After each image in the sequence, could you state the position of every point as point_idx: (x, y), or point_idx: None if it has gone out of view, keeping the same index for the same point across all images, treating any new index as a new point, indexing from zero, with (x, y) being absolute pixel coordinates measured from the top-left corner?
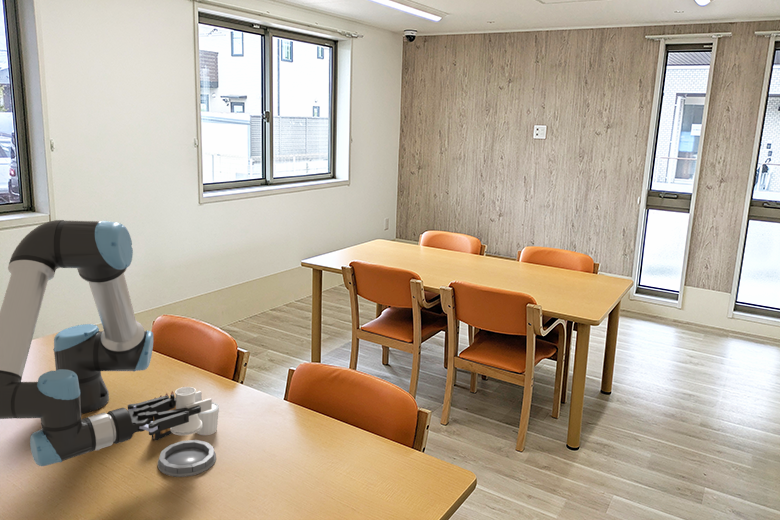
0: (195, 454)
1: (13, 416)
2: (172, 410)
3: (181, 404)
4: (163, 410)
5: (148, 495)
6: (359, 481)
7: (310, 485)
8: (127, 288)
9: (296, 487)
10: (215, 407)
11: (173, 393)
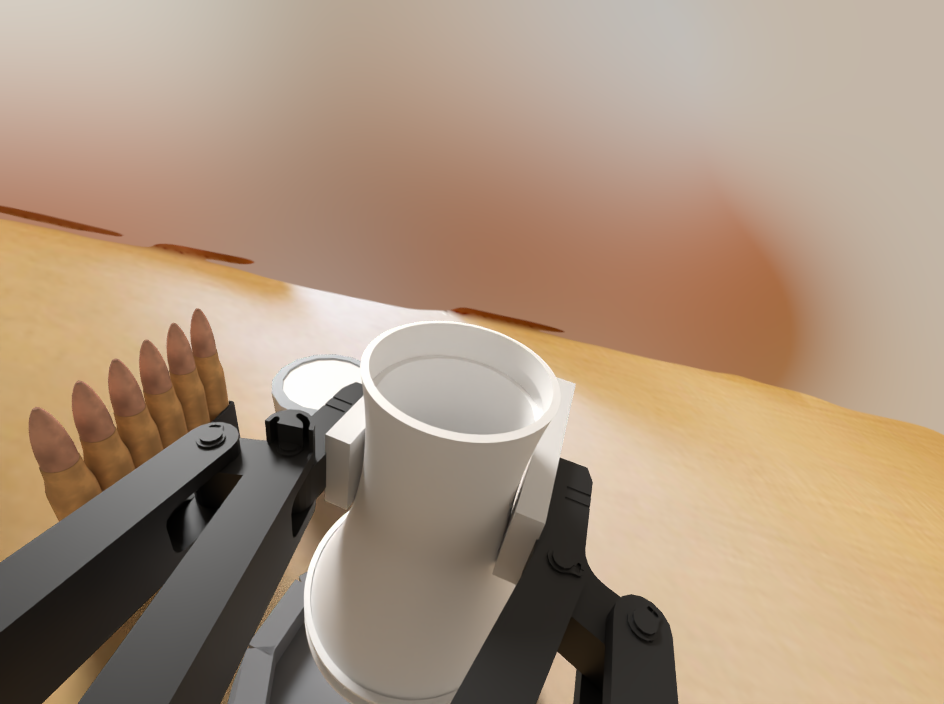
0: None
1: None
2: (488, 672)
3: (473, 512)
4: (257, 612)
5: None
6: (882, 517)
7: (855, 594)
8: None
9: (851, 628)
10: None
11: (157, 352)
